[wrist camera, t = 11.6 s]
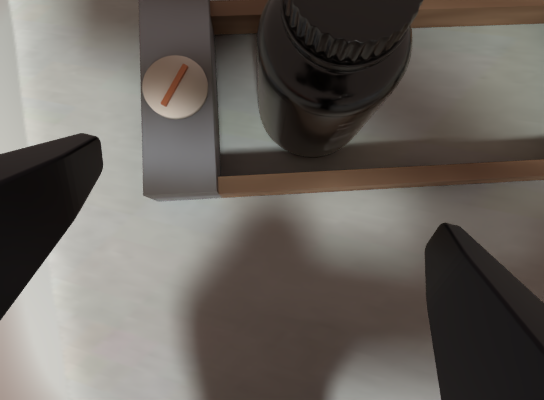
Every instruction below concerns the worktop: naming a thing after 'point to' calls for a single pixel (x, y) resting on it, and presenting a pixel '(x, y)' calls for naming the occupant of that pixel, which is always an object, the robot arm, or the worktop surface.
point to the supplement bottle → (329, 67)
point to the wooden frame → (204, 107)
